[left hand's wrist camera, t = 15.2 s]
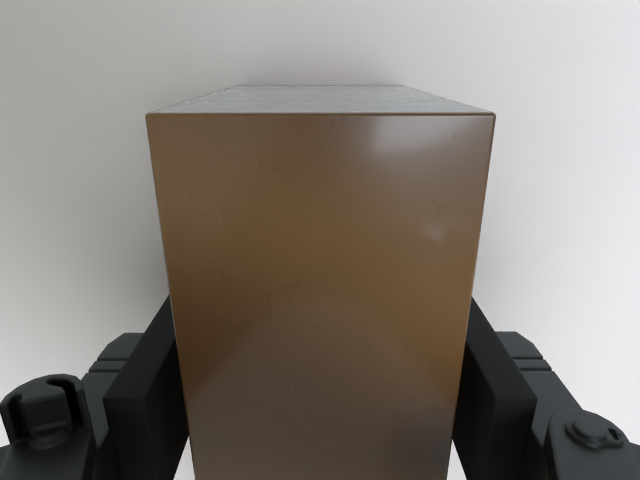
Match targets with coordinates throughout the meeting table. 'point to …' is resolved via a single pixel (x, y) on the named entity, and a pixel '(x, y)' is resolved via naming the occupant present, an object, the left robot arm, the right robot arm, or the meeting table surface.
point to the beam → (320, 275)
